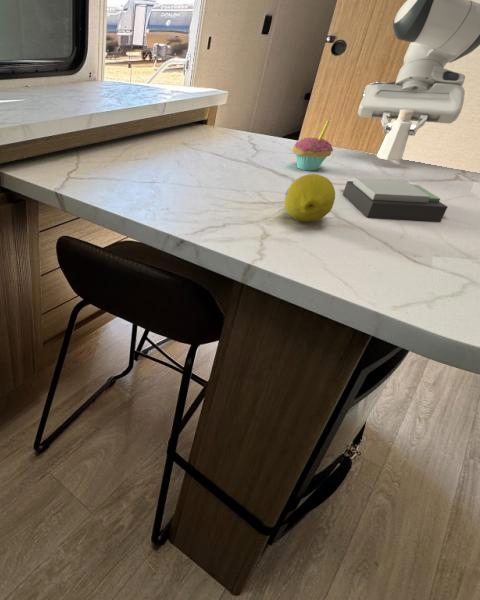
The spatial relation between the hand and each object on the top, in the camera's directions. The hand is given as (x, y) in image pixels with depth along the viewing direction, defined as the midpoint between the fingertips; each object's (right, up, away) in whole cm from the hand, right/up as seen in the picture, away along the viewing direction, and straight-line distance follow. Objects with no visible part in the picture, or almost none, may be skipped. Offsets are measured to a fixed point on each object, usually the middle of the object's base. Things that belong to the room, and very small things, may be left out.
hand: (398, 132), depth 100 cm
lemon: (-37, -26, -25) cm, 52 cm away
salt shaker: (0, -5, +4) cm, 6 cm away
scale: (-17, -22, -20) cm, 35 cm away
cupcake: (-21, -8, +3) cm, 22 cm away
